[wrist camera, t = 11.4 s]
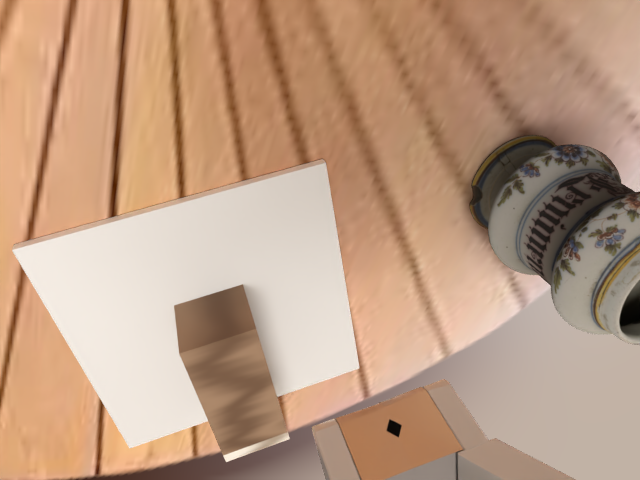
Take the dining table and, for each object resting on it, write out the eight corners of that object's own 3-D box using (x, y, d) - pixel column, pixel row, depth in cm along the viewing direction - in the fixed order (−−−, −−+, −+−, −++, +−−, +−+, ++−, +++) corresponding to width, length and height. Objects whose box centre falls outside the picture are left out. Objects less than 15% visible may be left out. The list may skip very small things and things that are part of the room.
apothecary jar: (456, 143, 46) (610, 252, 31) (577, 108, 48) (776, 194, 33) (458, 254, 52) (585, 387, 38) (564, 220, 54) (724, 333, 40)
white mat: (322, 158, 43) (325, 162, 42) (356, 363, 56) (359, 368, 55) (14, 244, 39) (11, 250, 38) (129, 441, 52) (129, 448, 52)
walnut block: (256, 328, 41) (289, 438, 48) (242, 284, 46) (275, 390, 53) (179, 353, 40) (226, 462, 48) (173, 305, 45) (217, 410, 52)
